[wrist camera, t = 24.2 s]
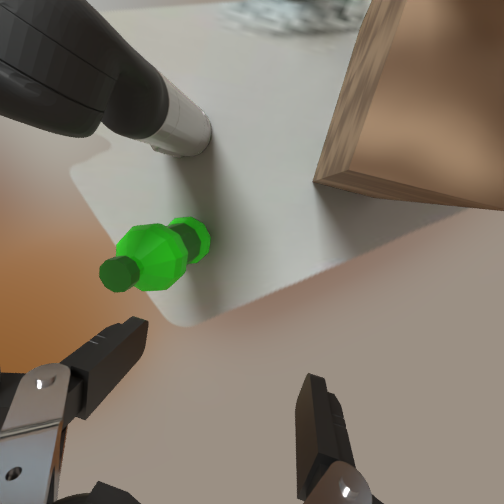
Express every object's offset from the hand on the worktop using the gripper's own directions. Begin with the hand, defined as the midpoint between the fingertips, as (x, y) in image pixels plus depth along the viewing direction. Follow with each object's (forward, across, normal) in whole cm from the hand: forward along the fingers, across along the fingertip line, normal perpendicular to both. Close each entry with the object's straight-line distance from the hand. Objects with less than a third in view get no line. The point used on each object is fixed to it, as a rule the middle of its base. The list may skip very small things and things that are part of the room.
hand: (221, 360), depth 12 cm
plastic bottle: (+40, +16, +6) cm, 44 cm away
